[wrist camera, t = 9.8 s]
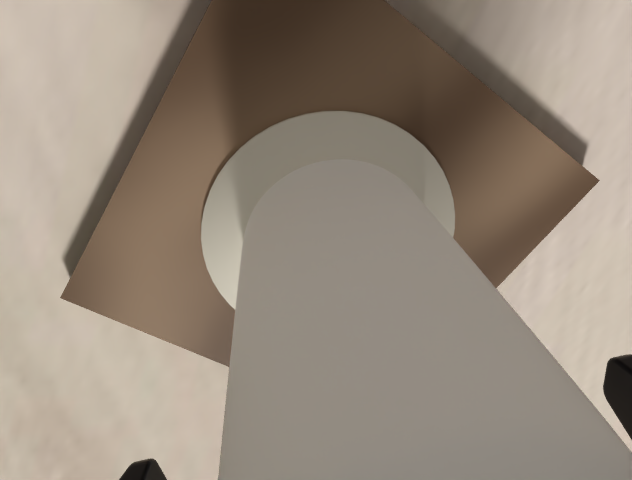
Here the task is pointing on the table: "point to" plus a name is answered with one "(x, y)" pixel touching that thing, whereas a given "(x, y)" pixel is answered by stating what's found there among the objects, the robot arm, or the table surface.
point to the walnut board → (308, 157)
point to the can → (389, 350)
